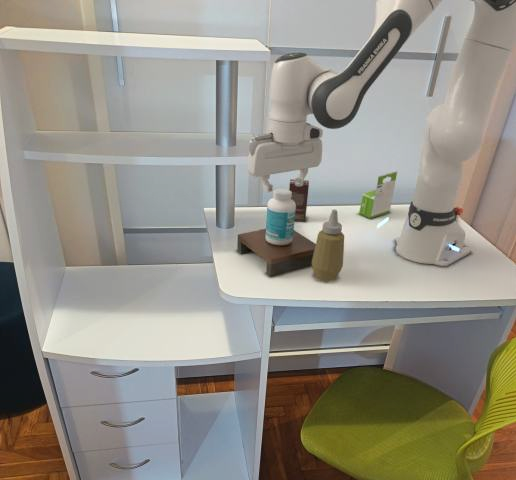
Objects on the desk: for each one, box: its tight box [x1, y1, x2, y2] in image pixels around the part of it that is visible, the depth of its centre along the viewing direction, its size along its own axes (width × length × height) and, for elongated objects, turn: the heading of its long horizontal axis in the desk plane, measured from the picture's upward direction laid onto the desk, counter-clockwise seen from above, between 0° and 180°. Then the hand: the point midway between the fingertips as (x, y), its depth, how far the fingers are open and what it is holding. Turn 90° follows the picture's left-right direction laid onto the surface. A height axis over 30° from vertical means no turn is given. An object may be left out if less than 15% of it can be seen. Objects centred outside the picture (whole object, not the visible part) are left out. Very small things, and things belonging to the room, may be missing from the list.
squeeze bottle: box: [311, 209, 345, 282], centre depth 127 cm, size 8×8×18 cm
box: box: [288, 179, 310, 222], centre depth 160 cm, size 6×4×12 cm
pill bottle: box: [265, 188, 296, 245], centre depth 133 cm, size 8×7×14 cm
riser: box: [236, 228, 316, 278], centre depth 139 cm, size 16×17×5 cm
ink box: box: [358, 170, 398, 220], centre depth 166 cm, size 10×5×14 cm, turn 130°
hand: (283, 188), depth 129 cm, fingers open, 8 cm apart
